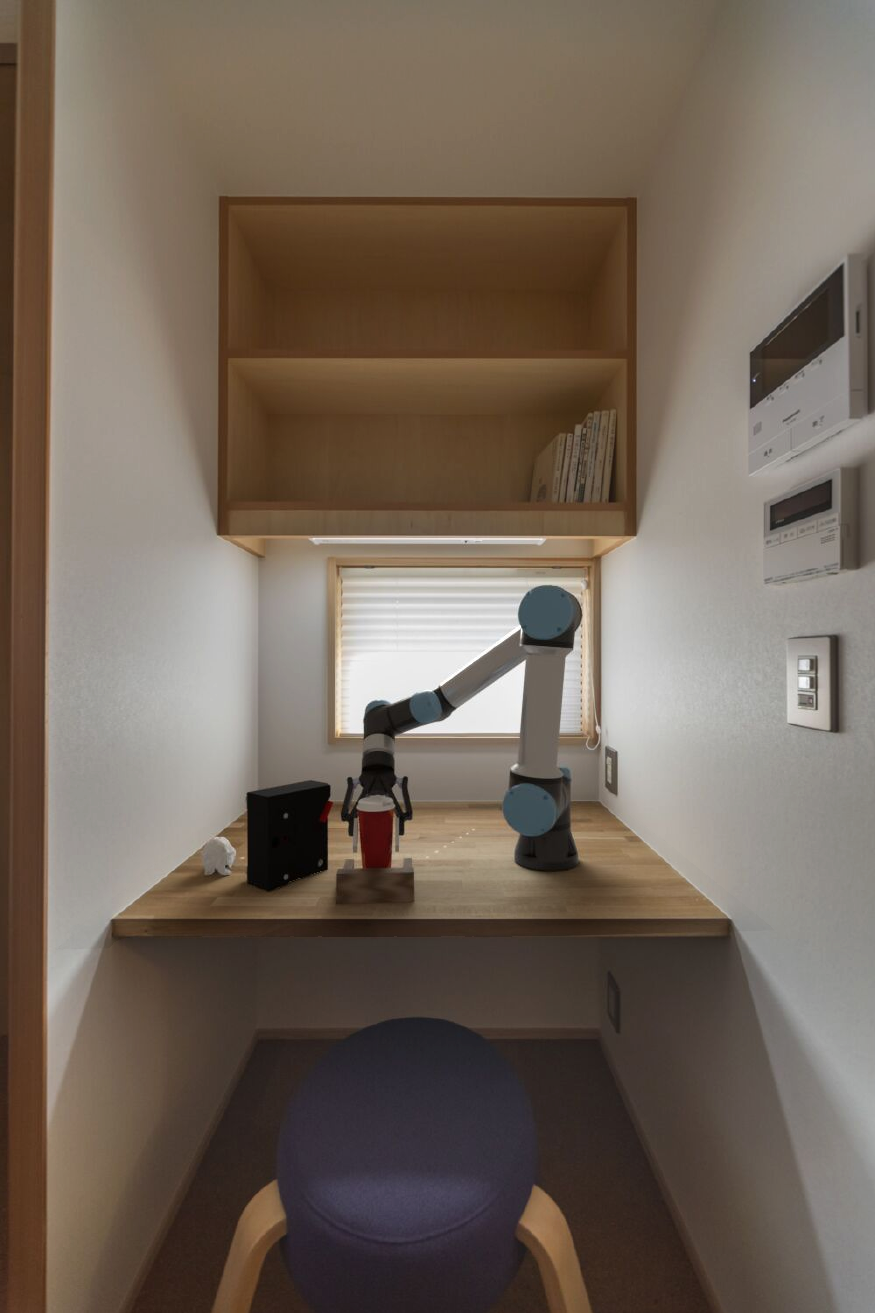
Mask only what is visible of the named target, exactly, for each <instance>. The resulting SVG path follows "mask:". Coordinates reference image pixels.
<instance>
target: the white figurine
mask: <svg viewBox="0 0 875 1313" xmlns="http://www.w3.org/2000/svg"><path fill="white" fill-rule="evenodd" d="M200 855H201V863H202V864H203V867H204V875H205V876H211V875H213V874H214V873H215V871H217V872H218V874H220V875H222V876H227V875H228V876H230V875H231V874H232V871H231V870H229V869H227V868H226V866H228V868H232V866H233V865H235V862H237V860H238V858H237V851H236V849H235V848H234V847H233V846H232V844H231V842H230V841H229V840H228V839H227V838H226V837H224V836H220V837H219V836H214V837H212V838H211V839H209V840H208V841H207V842H206V843H205V844H204V846H203V849H202V850H201V852H200ZM228 876H227V877H228Z"/></svg>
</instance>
